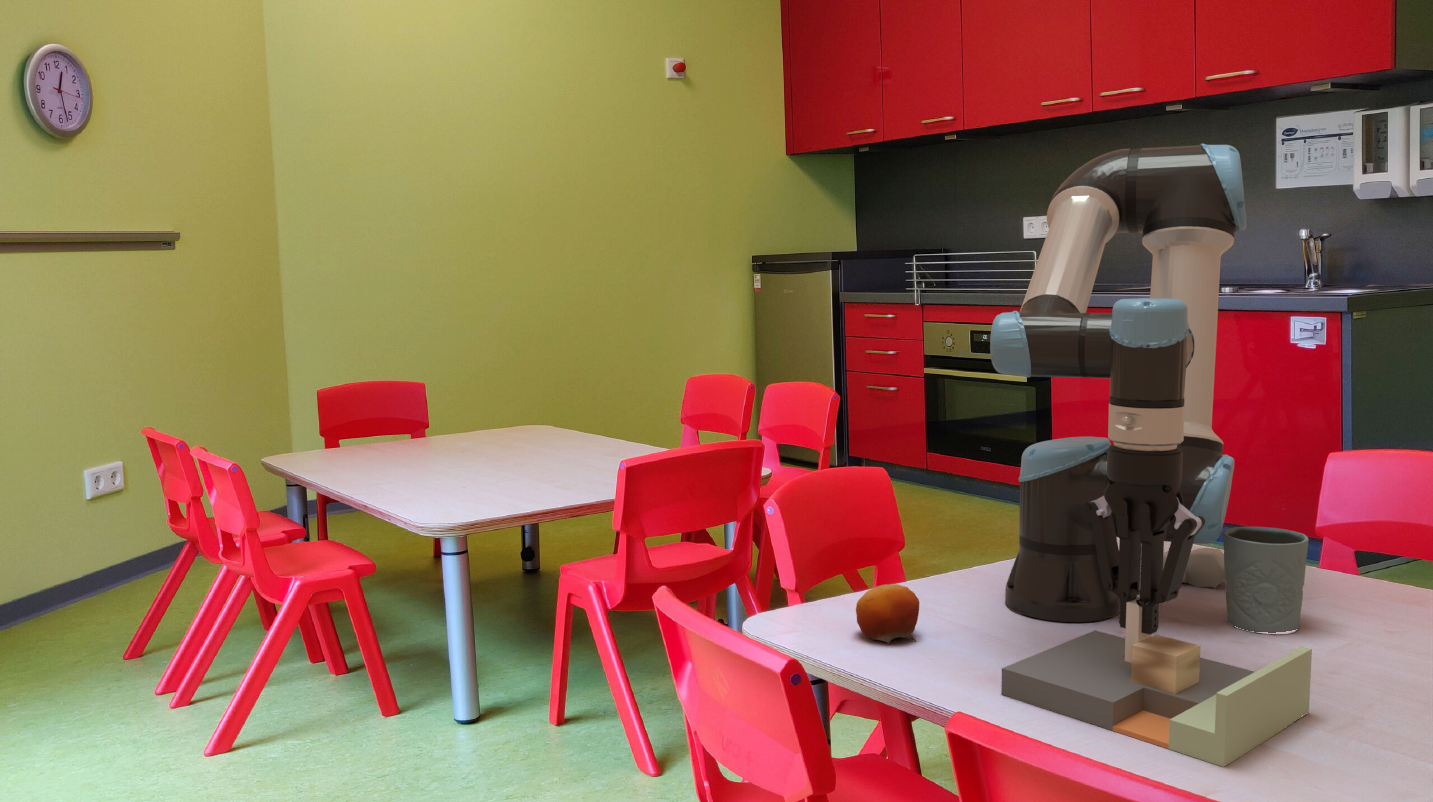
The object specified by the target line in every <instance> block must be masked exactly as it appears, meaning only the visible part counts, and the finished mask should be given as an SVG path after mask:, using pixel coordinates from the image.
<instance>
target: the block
mask: <svg viewBox="0 0 1433 802" xmlns="http://www.w3.org/2000/svg"><path fill="white" fill-rule="evenodd" d="M1200 657H1201V645H1199V644H1196V643H1193V642H1192V643H1191V642H1189V641H1188V642H1187V641H1183V640H1180V639H1175V638H1171V637H1167V636H1164V635H1159V634H1154V635H1151V637H1149V638H1147V639H1145V640H1142V641H1140V642H1137V643H1135V644H1133V645H1132V653H1131V681H1132V682H1135V683H1139V684H1142V685H1146V686H1149V687H1153V688H1156V689H1159V690H1163V691H1166V692H1170V693H1173V694H1176V693H1178V692H1180V691H1182V690H1184V689H1186V688H1188V687H1190V686H1192V685H1194V684H1196V683H1198V682H1199V672H1200Z"/></svg>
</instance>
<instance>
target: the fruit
mask: <svg viewBox="0 0 1433 802" xmlns="http://www.w3.org/2000/svg"><path fill="white" fill-rule="evenodd" d="M855 614H856V615H855V616H856V623H857V625H858V626H859V628H860V632H862V634H863V635H865V636H866V637H867V638H869V639H871V640H873V641H882V642H885V643H887V644H888V645H889V644H890V642H891V641H892V640H894V639H898V638H909V639H912V640H913V641H914V642H917V640H916V638H914V637H913V635H912V634H913V633H914V631H915V630H916V626H917V623H918V619H919V614H920V599H919V598H918V597H917V595H916V593H915V592H914V591H912V590H911V589H910V588H909V587H907V586H905V585H904V586H903V585H901V584H897V583H891V584H881V585H878V586H875V587H873V588H871V589H869V590H867V591H866V592H865V593H864V594H863V595H861V597H860V598H859V599H858V600H857V602H856V605H855Z"/></svg>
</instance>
